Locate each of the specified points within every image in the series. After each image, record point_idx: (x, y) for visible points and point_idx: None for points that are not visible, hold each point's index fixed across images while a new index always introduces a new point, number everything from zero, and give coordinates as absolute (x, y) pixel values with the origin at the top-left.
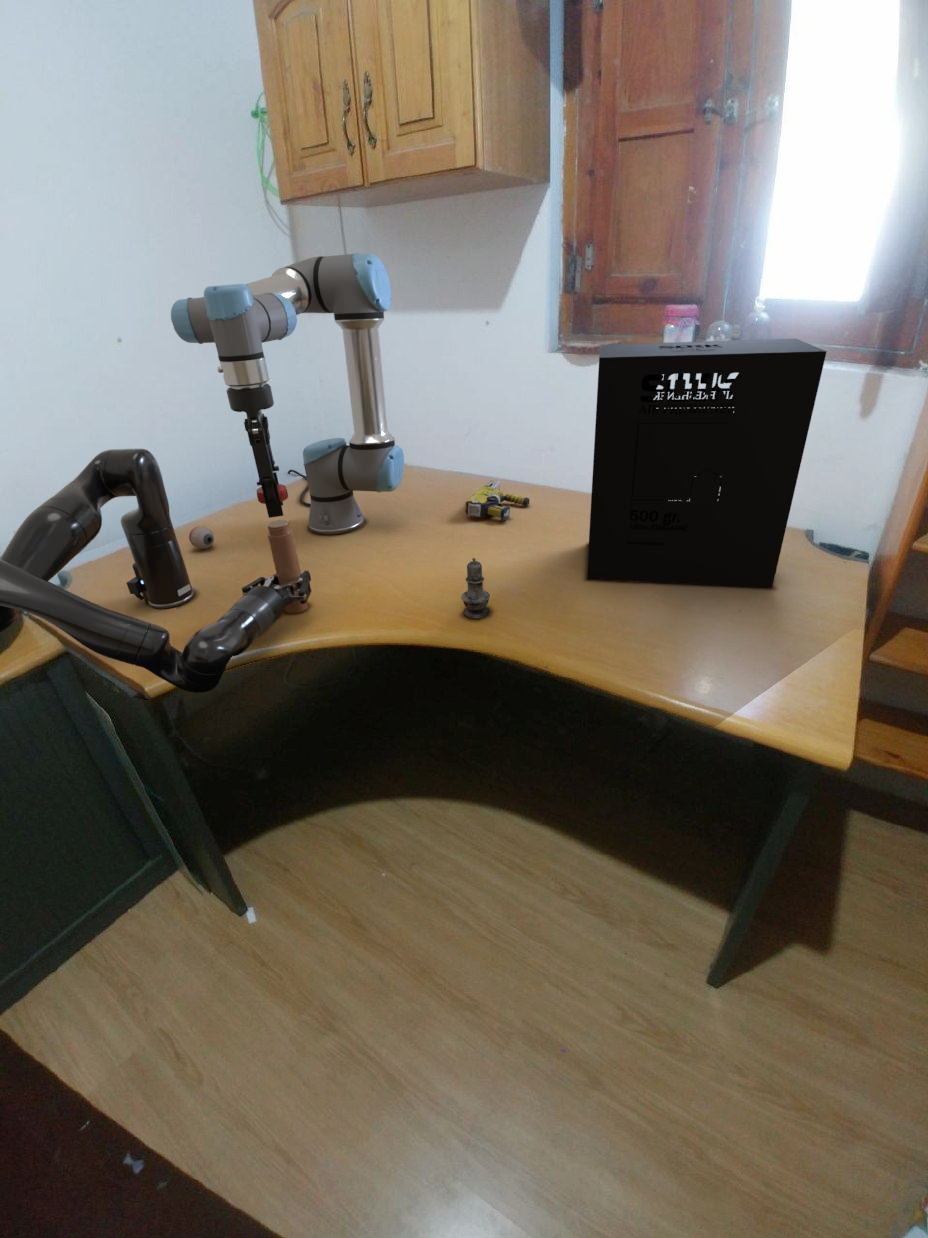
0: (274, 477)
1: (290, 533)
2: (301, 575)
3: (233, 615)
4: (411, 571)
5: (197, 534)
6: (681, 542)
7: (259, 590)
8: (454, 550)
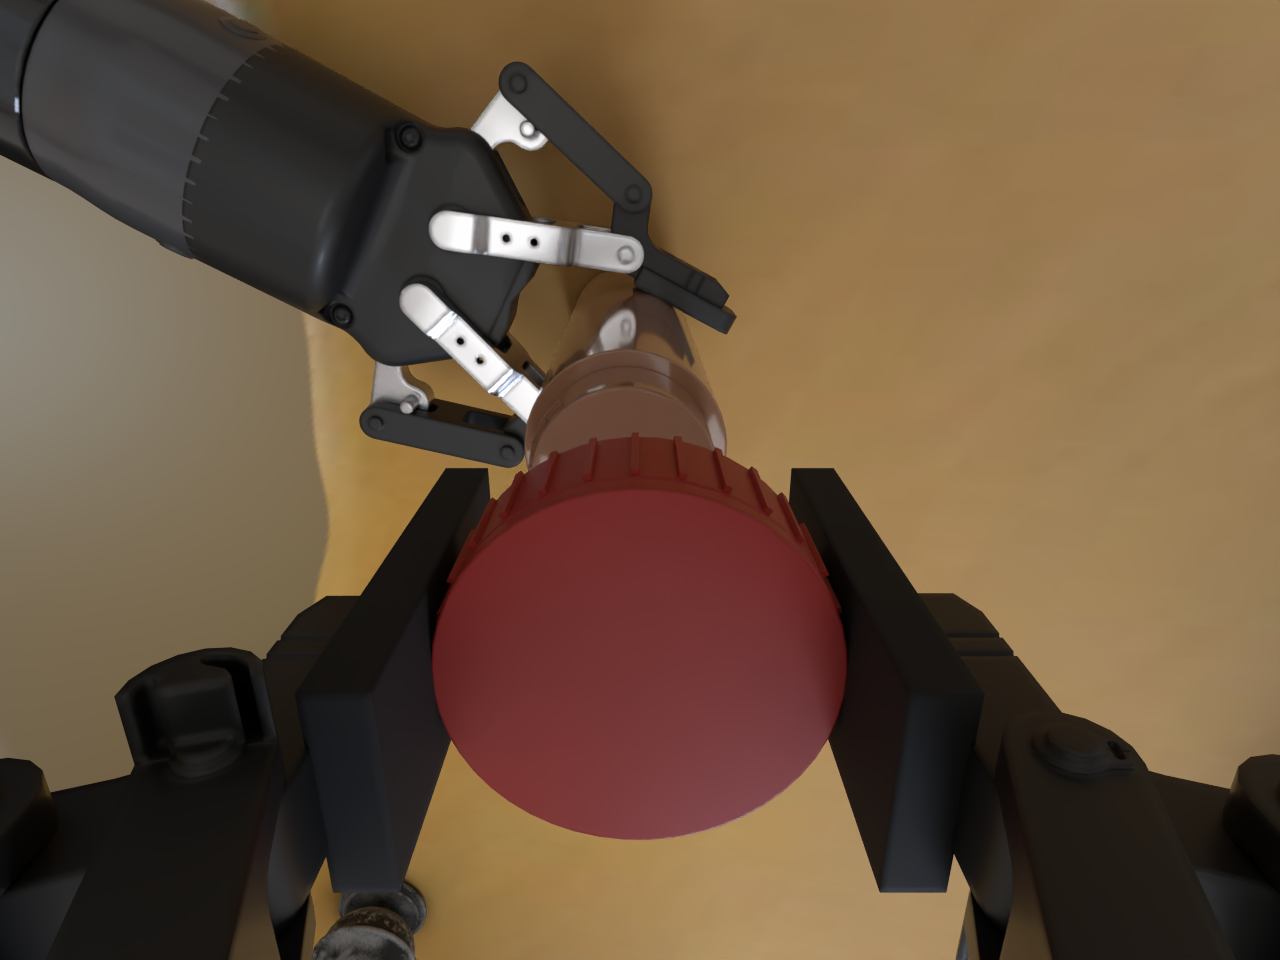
0: (861, 807)
1: None
2: None
3: None
4: (787, 788)
5: None
6: None
7: (256, 211)
8: (901, 940)
